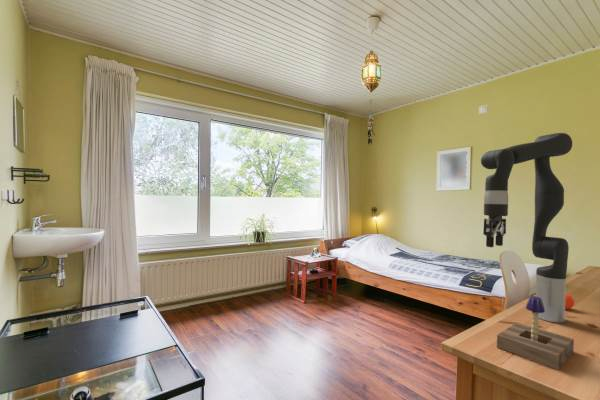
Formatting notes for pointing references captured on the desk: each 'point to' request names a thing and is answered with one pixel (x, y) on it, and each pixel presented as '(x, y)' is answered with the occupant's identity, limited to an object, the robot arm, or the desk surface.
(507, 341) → the socket block
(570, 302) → the clementine
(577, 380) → the desk surface
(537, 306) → the toy lamp
